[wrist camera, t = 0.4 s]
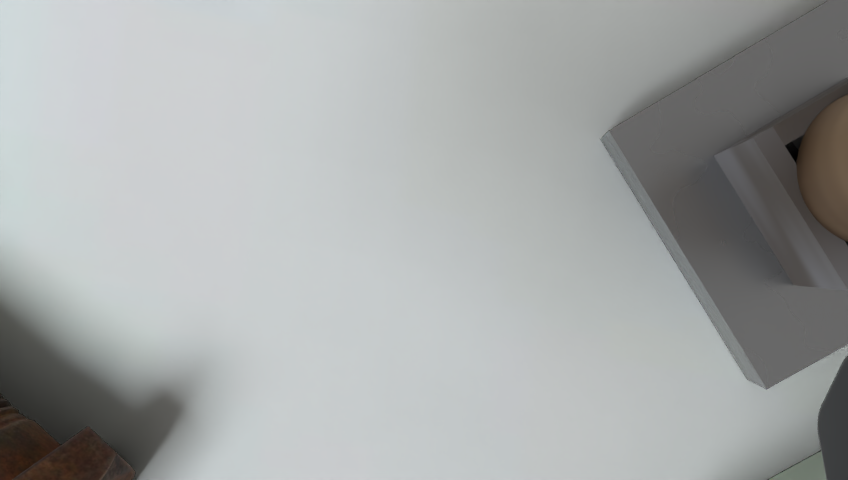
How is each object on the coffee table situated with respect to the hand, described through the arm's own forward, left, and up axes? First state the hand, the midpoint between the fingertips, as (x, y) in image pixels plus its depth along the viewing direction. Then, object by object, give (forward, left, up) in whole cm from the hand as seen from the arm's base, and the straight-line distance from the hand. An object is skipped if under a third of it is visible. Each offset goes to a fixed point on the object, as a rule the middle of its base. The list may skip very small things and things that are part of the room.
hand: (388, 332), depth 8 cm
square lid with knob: (-3, -10, -14) cm, 17 cm away
